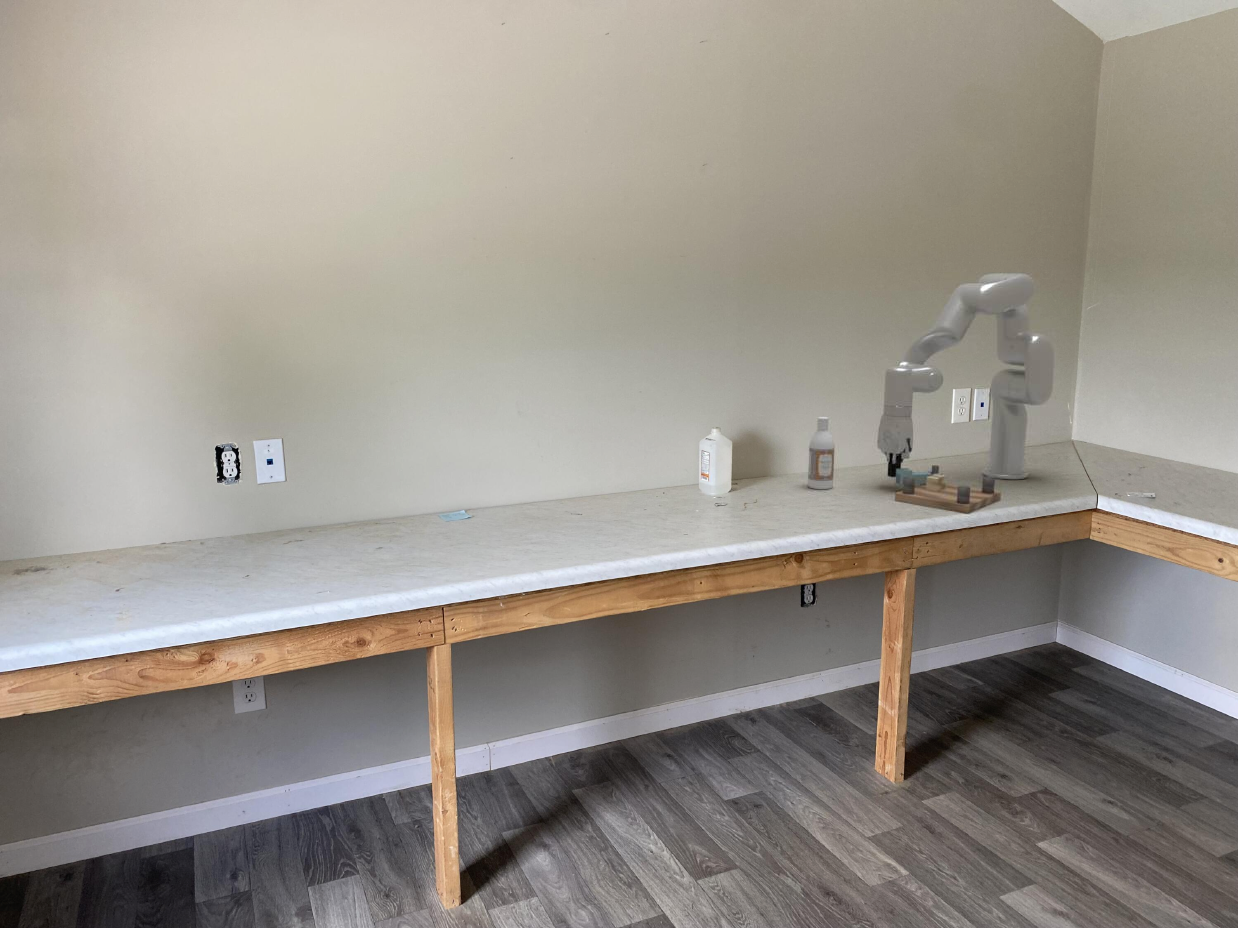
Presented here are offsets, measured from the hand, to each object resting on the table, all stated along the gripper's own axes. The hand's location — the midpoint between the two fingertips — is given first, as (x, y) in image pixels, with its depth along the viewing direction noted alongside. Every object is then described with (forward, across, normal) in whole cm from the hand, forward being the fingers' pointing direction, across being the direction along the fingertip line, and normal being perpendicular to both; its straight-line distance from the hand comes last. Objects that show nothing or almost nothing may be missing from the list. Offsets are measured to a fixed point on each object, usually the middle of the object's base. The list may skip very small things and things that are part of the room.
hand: (893, 476), depth 256 cm
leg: (+1, +5, +4) cm, 7 cm away
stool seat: (+4, +16, +5) cm, 17 cm away
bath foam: (+4, -10, -17) cm, 20 cm away
